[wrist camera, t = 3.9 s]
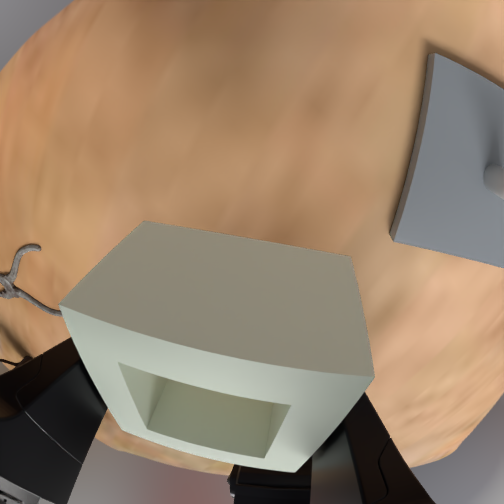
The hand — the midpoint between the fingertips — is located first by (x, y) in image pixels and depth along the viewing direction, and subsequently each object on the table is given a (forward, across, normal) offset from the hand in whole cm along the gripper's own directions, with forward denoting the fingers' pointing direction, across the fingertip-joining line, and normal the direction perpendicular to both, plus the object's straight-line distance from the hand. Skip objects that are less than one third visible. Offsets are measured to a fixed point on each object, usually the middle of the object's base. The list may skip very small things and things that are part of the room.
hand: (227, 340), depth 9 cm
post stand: (+11, -14, -6) cm, 19 cm away
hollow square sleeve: (+1, 0, 0) cm, 1 cm away
